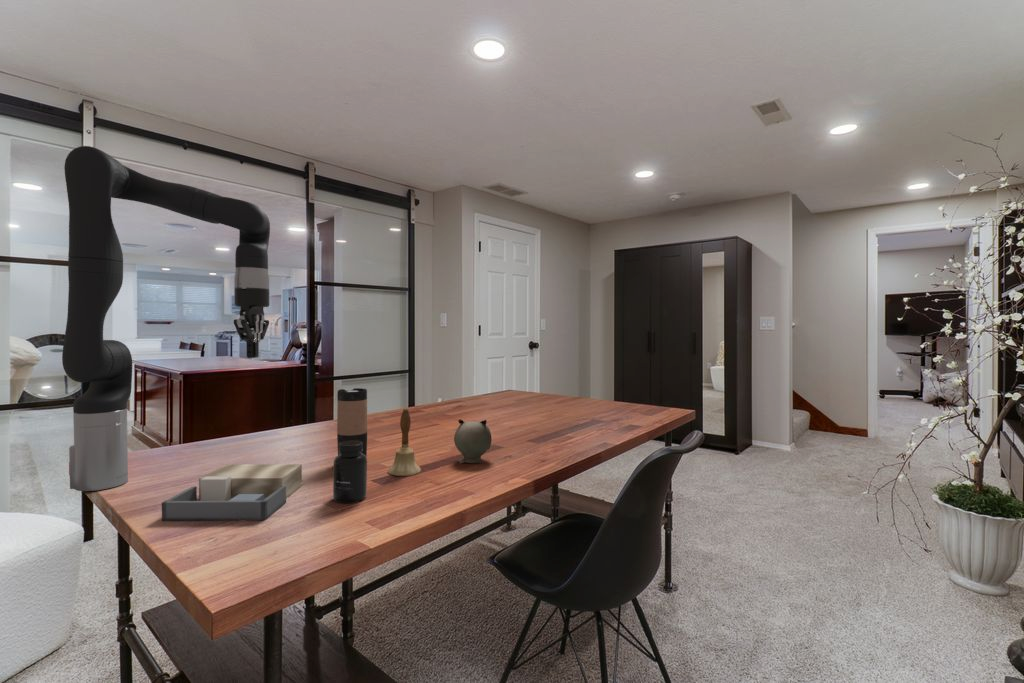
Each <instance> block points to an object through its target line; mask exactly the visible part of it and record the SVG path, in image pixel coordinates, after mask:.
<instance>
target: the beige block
mask: <svg viewBox="0 0 1024 683" xmlns="http://www.w3.org/2000/svg"><path fill="white" fill-rule="evenodd" d="M200 499H201V501H229V500H230V499H231V476H206V477H204V478H202V479H200Z"/></svg>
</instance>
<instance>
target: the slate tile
mask: <svg viewBox="0 0 1024 683" xmlns="http://www.w3.org/2000/svg"><path fill="white" fill-rule="evenodd" d="M263 500H264V494H238V495H237V496H235V497H234V498H232V499H230V500H229V501H263Z"/></svg>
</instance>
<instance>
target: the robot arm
mask: <svg viewBox="0 0 1024 683" xmlns="http://www.w3.org/2000/svg"><path fill="white" fill-rule="evenodd" d="M63 166H64V167H63V168H64V178H65V183H66V186H65V187H66V193H67V200H68V212H69V213H68V215H69V216H68V252H67V253H68V256H67V257H68V258H67V261H68V263H67V265H68V266H67V268H68V269H67V271H68V272H67V276H68V293H67V294H68V296H67V297H68V298H67V300H68V301H67V317H66V326H65V332H64V340H63V347H62V354H61V355H62V356H61V360H62V361H61V362H62V366H63V367H62V368H63V370H64V372H65V374H66V375H67V376H68V378H69V379H71V380H72V381H74V382H76V383H89V387H88V389H86V391H85V392H84V393H82V394H81V395H80V396H78V397H77V398H75V399H74V400H73V403H72V404H73V406H72V407H73V408H72V409H73V445H71V446H69V448H68V453H69V454H68V457H69V465H68V466H69V489H70V490H75V491H79V492H92V491H94V492H95V491H101V490H106V489H112V488H115V487H119V486H121V485H124V484H126V483H128V481H129V466H128V465H129V464H128V463H129V462H128V460H129V458H128V454H129V453H128V452H129V451H128V450H129V449H128V401H129V399H130V397H131V395H132V394H131V393H132V385H133V383H132V382H133V381H132V379H133V357H132V353H131V351H130V349H129V348H128V346H127V345H126V344H125V343H123V342H121V341H119V340H115V339H104V325H105V319H106V316H107V313H108V311H109V309H110V307H111V306H112V305H113V303H114V301H115V300H116V298H117V296H118V295H119V293H120V290H121V288H122V287H123V286H122V285H123V282H124V281H123V280H124V253H123V250H122V247H121V243H120V239H119V236H118V234H117V230H116V228H115V224H114V222H113V218H112V217H113V216H112V208H111V207H112V199H120V200H125V201H130V202H131V201H132V202H138V203H142V204H147V205H150V206H156V207H159V208H162V209H165V210H168V211H170V212H175V213H177V214H180V215H184V216H186V217H190V218H192V219H195V220H196V219H197V220H200V221H203V222H206V223H209V224H210V223H211V224H216V225H218V224H220V225H224V226H228V227H231V228H234V229H236V230H239V233H238V234H239V237H238V238H239V240H238V241H239V243H238V245H237V246H236V248H235V253H234V254H235V260H234V261H235V272H234V277H233V278H234V279H233V280H234V282H233V283H234V285H233V286H234V287H233V288H234V289H233V290H234V306H235V307H240V309H239V313H238V314H239V318H238V319H236V318H235V319H234V320H233V324H234V327H235V329H236V332H237V333H238V336H239V338H240V340H241V341H244V343H245V344H246V358H248V359H257V358H259V353H260V352H259V348H260V347H259V343H260V342H261V341H262V340H264V338H265V336H266V333H267V330H268V328H269V325H270V320H269V319H268V320H267V319H265V312H264V308H268V307H269V306H270V276H269V255H268V254H269V253H268V249H269V244H270V235H271V234H270V233H271V224H270V219H269V217H268V215H267V214H266V213H265V212H264V210H263V209H262V208H261V207H259V205H256V204H254V203H252V202H249V201H245V200H242V199H237V198H233V197H229V196H222V195H219V194H217V193H215V192H211V191H208V190H204V189H202V188H198V187H195V186H192V185H191V186H190V185H187V184H183V183H182V184H181V183H175V182H171V181H165V180H161V179H156V178H154V177H151V176H148V175H145V174H143V173H141V172H138V171H136V170H134V169H132V168H130V167H128V166H125V165H123V164H122V163H121V162H120V161H119V160H117V159H116V158H114V157H113V156H111V155H110V154H108V153H106V152H104V151H103V150H101V149H99V148H96V147H94V146H89V145H81V146H77V147H75V148H74V149H72V150H71V151H69V153H68V154H67V156H66V158H65V160H64V165H63Z"/></svg>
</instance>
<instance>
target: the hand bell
mask: <svg viewBox="0 0 1024 683" xmlns="http://www.w3.org/2000/svg"><path fill="white" fill-rule="evenodd" d="M409 412H410V411H409V409H408V408H405V409H402V413H401V416H400V419H399V420H400V423H399V424H400V430H401V447H400V448H399V449H396V451H395V457H394V461H393V463H392V465H391V467H389V469H388V470H387V473H388V474H389V475H391V476H396V477H409V476H414V475H418V474H419V473H421V472H422V469H421V467H420V466H419V465H418V464H417V462H416V458H415V452H414V449H413V448H411V447H410V446H409V433H410V429H411V422H412V421H411V420H412V419H411V415H410V413H409Z"/></svg>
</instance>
